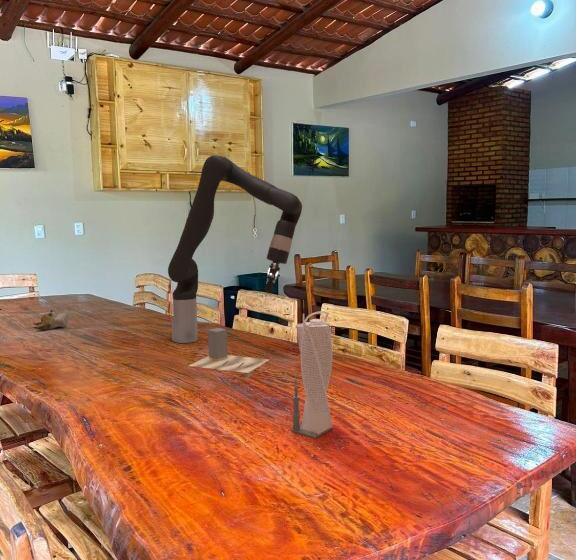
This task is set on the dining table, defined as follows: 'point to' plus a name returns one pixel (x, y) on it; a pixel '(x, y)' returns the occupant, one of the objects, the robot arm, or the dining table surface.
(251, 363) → the board
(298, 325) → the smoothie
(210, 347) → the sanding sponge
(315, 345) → the skyscraper
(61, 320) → the ceramic sculpture
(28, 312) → the dining table surface
